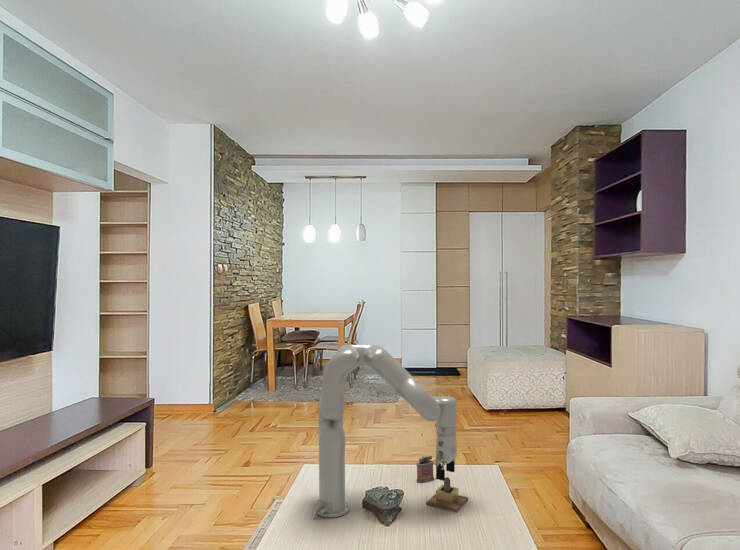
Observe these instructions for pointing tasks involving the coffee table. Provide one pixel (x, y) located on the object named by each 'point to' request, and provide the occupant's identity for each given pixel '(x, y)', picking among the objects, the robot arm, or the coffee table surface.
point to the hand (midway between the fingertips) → (445, 475)
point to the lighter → (425, 469)
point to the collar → (447, 495)
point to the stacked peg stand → (453, 508)
